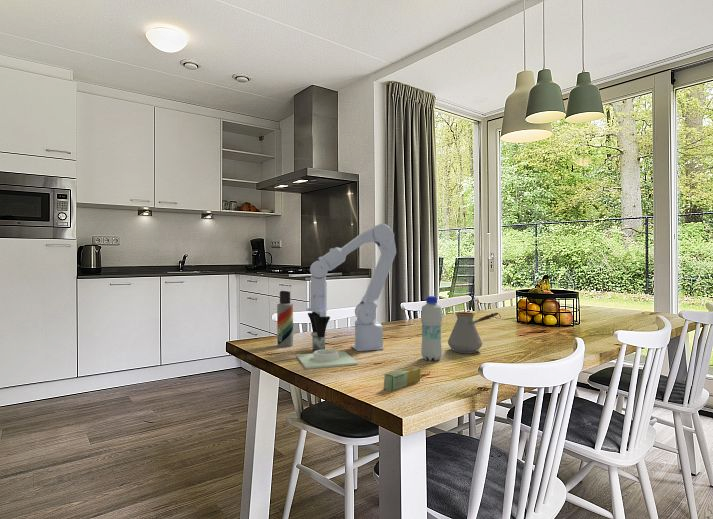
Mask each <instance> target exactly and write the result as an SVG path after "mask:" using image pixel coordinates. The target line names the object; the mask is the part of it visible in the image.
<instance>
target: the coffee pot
mask: <svg viewBox="0 0 713 519" xmlns="http://www.w3.org/2000/svg"><path fill="white" fill-rule="evenodd" d="M454 314H455V316H456V321H455V324H454V325H453V328H452V331H451V333H450V334H449V337H448V340H447V343H448V347H450V348H451V349H452V350H453V351H454V352H456V353H459V354H475V353H477V351H479V350H480V349H481V348H482V346H483V341H482V339H481V337H480V335H479V332H478V329H477V328H476V325H475V324H478V323H480V322H484V321H486V320H490V319H491V318H495V319H497V320H499V319H501V314H500V313H499V312H493V313H491V314H487V315H485V316H483V317H480V318H479V319H476V320H474V316H475V313H473V312H467V311H466V312H465V311H463V312H461V311H460V312H455V313H454ZM498 315H499V318H498V317H497V316H498Z"/></svg>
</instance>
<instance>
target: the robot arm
mask: <svg viewBox="0 0 713 519" xmlns="http://www.w3.org/2000/svg"><path fill="white" fill-rule="evenodd" d="M373 242H374V243H375V244H376V245H377V247H378V249H379V251H380V256H379V258H378V261H377V263H376V266H375V268H374V271H373V273H372V276H371V279H370V281H369V284H368V286H367V289H366V290H365V293H364V295H363V297H362V298H361V301H360V302H359V303H358V304H357V305H356V306H355V309H354V315H355V317H356V318H357V319H356V320H355V321H354V344H352V345H351V347H352V349H354V350H356V352H364V351H365V352H367V351H376V350H377V351H379V350H384V349H385V348H384V346H383V345H384V340H383V339H384V336H383V334H384V332H383V331H384V330H383V326H382V324H381V323H380V322H376V321H375V319H376V317H377V313H376V310H377V307H378V302H379V298H380V295H381V292H382V290H383V288H384V285H385V283H386V280H387V278H388V275H389V273H390V270H391V268H392V265H393V262H394V261H395V257H396V255H397V248H396V247H397V246H396V241H395V232H394V231H393V230H392V228H391V227H390V226H389V225H388V224H386V223H379V224H377V225H374V226H372V227H371V228H369V229H366V230H365V231H363V232H361V233H360V234H358V235H357V236H356V237H355V238H353V239H351V241H349V242H348V243H346V244H345V245H344V246H342V247H338V246H336V247H334V248H333V247H331V248H330V249H329V251H328V252H327V253H326V254H324V255H322V256H319V257H318V258H317V259H318V260H315V261H314V262H313V263H312V264H311V265H310V268H309V272H310V282H309V283H310V284H309V286H310V287H309V298H310V299H309V300H310V301H309V307H307V308H306V311H307V312H308V313H307V316H308V318H309V320H310V323H311V324H310V325H311V330H312V332H317V336H318V337H324V335H325V332H326V330H327V325H328V323H329V321H330V319H331V316H328V315H327V311H328V307H327V305H328V302H327V301H328V300H327V299H328V295H327V294H328V293H327V292H328V288H327V286H328V283H327V274H328V272H329V271H330V272H331V271H333V270H334V269H336V268H337V267H338V266H340V265H342V264H343V263H344V262H345V261H346V258H347V256H348V255H349V254H350V253H352V252H354V251H355V250H356V249H358V248H360V247H362V245H363V246H364V244H366V243H367V244H368V243H373Z"/></svg>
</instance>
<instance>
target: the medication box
mask: <svg viewBox="0 0 713 519" xmlns="http://www.w3.org/2000/svg"><path fill="white" fill-rule="evenodd" d="M383 376H384V377H383V379H384V380H383V390H384V389H386V390H385V391H387V390H390V391H389V392H393V391H392V390H394V391H396V390H395V389H397V390H399V389H402V388H405V387H408V386H411V385H412V384H416V383H418V381H419V382H420V381H421V367H419V366H415V365H411V366H408V367H405V368H401V369H398V370H395V371H391V372H388V373H384V375H383ZM410 384H411V385H410ZM407 385H408V386H407ZM404 386H405V387H404ZM401 387H402V388H401ZM398 388H399V389H398Z"/></svg>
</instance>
